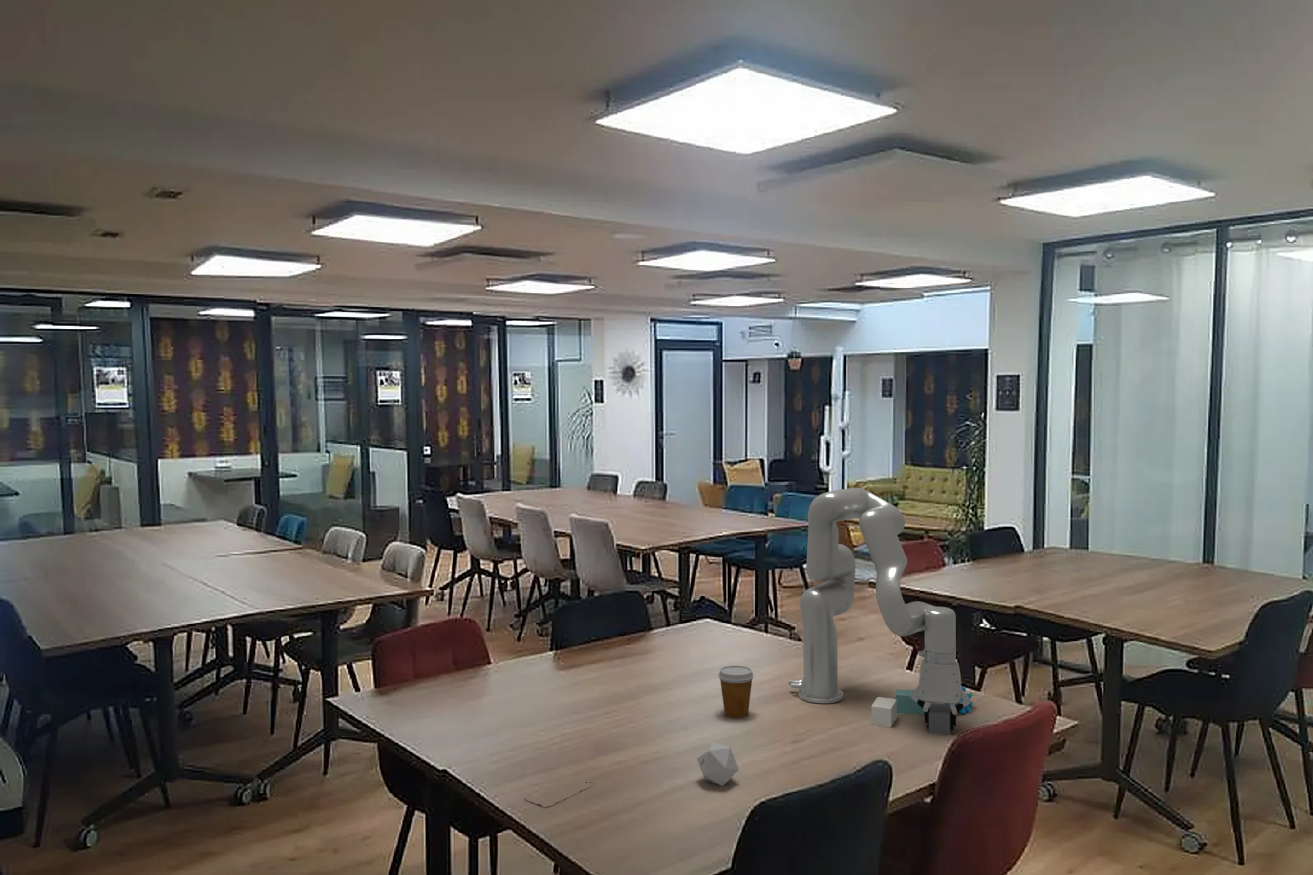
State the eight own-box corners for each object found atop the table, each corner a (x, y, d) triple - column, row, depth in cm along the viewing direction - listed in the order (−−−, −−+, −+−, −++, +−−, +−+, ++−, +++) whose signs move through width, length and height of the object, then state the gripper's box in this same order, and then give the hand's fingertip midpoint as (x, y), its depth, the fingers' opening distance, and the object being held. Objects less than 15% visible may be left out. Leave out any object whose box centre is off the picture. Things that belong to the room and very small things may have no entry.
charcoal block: (949, 735, 226) (949, 715, 226) (928, 732, 228) (928, 713, 227) (951, 724, 233) (951, 705, 233) (931, 722, 235) (931, 703, 235)
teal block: (895, 713, 242) (895, 695, 242) (895, 707, 247) (895, 689, 247) (926, 715, 240) (926, 697, 240) (926, 709, 245) (926, 691, 245)
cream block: (890, 728, 232) (890, 709, 231) (871, 725, 234) (871, 706, 233) (896, 717, 239) (896, 699, 239) (877, 715, 241) (877, 696, 241)
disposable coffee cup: (758, 711, 245) (758, 667, 244) (747, 722, 236) (746, 677, 236) (725, 706, 249) (725, 663, 248) (713, 717, 240) (712, 673, 240)
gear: (951, 712, 237) (935, 678, 244) (938, 723, 241) (923, 689, 248) (983, 711, 242) (967, 678, 248) (970, 722, 245) (954, 689, 252)
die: (703, 773, 206) (686, 748, 202) (735, 753, 207) (719, 728, 202) (715, 800, 199) (698, 774, 195) (749, 779, 200) (732, 753, 195)
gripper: (904, 657, 229) (904, 728, 230) (975, 663, 223) (975, 736, 224) (906, 650, 236) (906, 718, 237) (975, 655, 230) (975, 725, 231)
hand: (940, 726), depth 230 cm, fingers closed on charcoal block, 5 cm apart
